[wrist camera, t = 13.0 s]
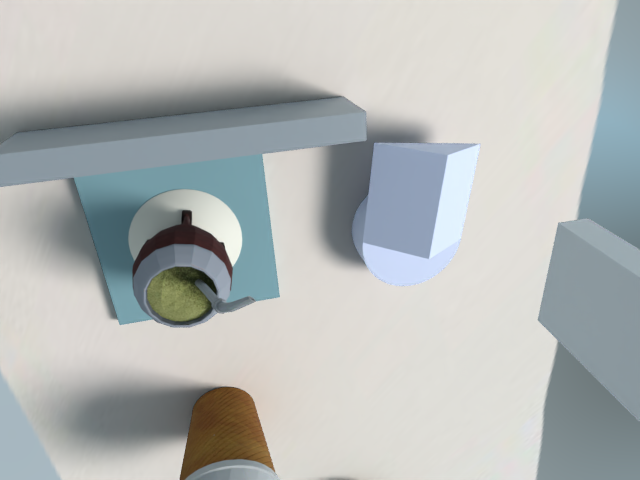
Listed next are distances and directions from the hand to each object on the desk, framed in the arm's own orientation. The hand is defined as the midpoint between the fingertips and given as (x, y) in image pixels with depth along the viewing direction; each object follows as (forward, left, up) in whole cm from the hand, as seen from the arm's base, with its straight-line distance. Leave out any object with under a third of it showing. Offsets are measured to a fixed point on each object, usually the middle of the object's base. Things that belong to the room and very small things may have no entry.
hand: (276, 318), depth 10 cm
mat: (+11, -5, -30) cm, 32 cm away
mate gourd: (+11, -5, -29) cm, 31 cm away
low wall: (+2, -3, -30) cm, 30 cm away
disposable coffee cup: (+31, -5, -30) cm, 43 cm away
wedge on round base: (+11, +14, -30) cm, 35 cm away
